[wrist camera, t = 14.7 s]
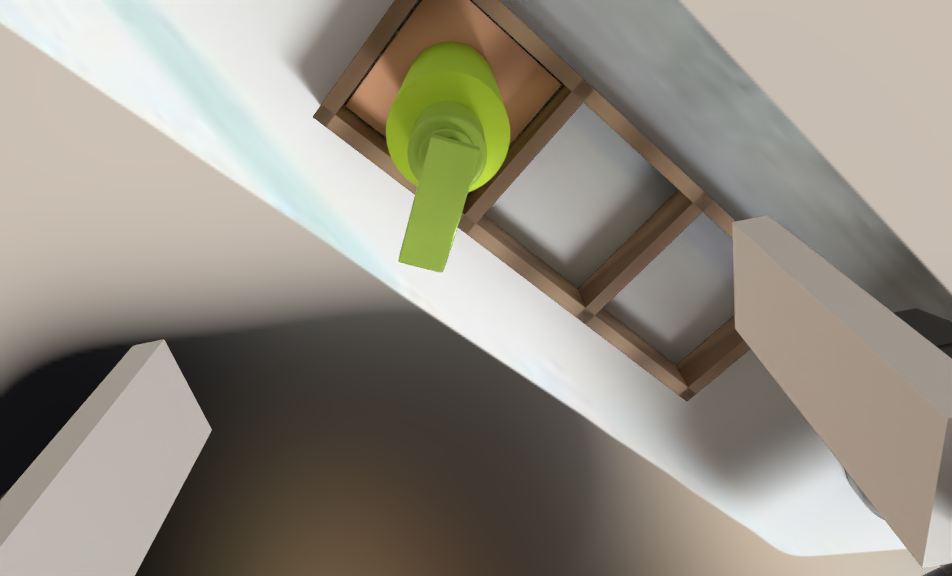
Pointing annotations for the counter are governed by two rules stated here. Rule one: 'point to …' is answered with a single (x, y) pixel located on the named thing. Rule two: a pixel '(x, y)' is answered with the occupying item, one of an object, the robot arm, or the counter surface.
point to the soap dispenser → (445, 143)
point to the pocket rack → (523, 97)
